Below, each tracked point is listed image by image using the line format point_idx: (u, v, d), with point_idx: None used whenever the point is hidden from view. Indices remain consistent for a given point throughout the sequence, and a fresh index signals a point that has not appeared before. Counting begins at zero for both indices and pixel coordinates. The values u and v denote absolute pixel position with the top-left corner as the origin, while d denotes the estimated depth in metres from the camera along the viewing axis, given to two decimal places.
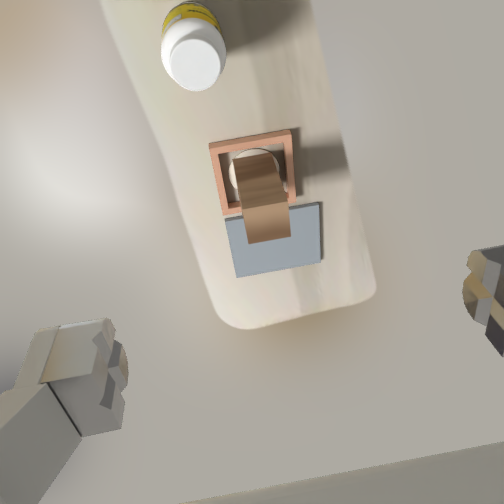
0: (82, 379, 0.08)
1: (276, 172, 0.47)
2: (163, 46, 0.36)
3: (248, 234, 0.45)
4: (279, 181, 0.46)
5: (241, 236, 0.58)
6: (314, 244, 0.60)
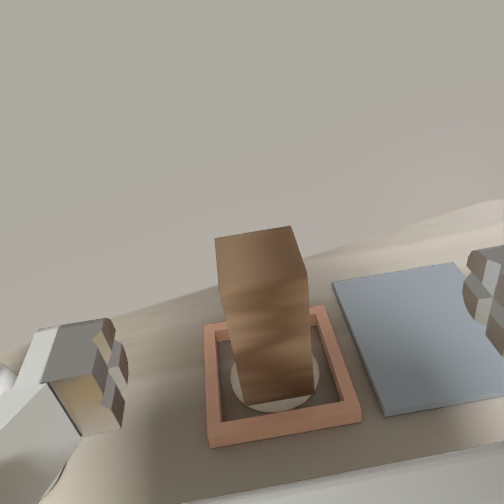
0: (82, 380, 0.08)
1: None
2: None
3: (281, 275, 0.23)
4: None
5: (420, 379, 0.28)
6: (414, 275, 0.36)
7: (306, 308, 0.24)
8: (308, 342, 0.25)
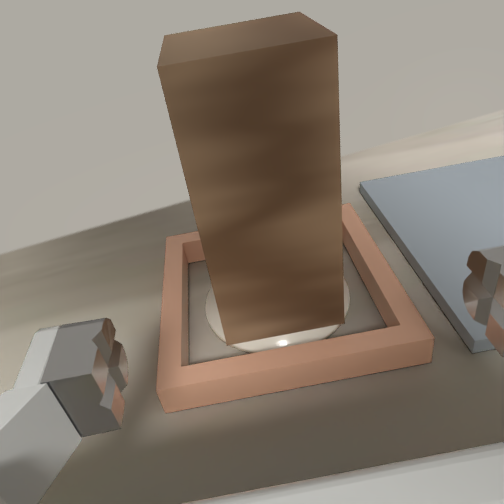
0: (82, 380, 0.08)
1: None
2: None
3: (284, 42, 0.11)
4: None
5: None
6: (481, 166, 0.24)
7: (334, 130, 0.12)
8: (336, 212, 0.14)
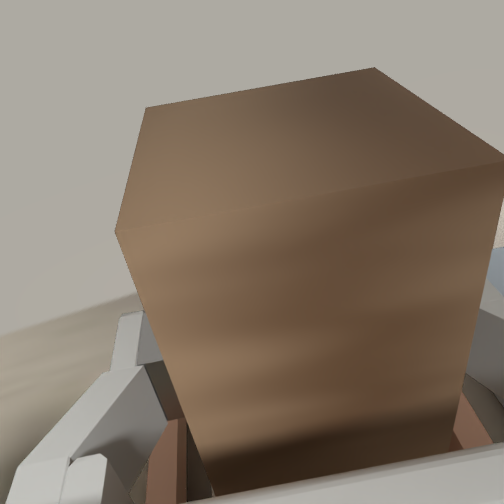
0: None
1: None
2: None
3: (392, 173, 0.05)
4: None
5: None
6: None
7: (467, 317, 0.06)
8: (444, 425, 0.08)
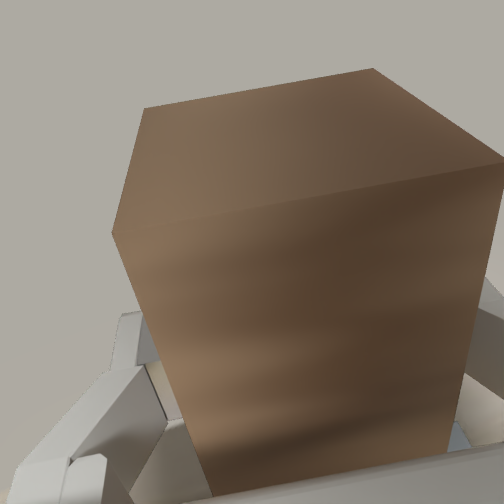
0: None
1: None
2: None
3: (390, 175, 0.05)
4: None
5: None
6: None
7: (465, 318, 0.06)
8: (443, 426, 0.08)
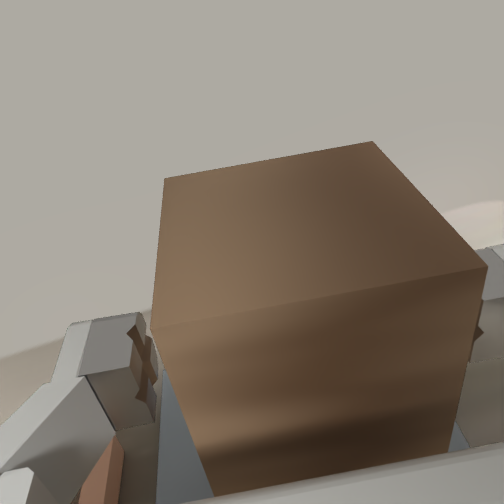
0: (119, 373, 0.08)
1: None
2: None
3: (387, 276, 0.06)
4: None
5: None
6: None
7: (453, 384, 0.07)
8: None
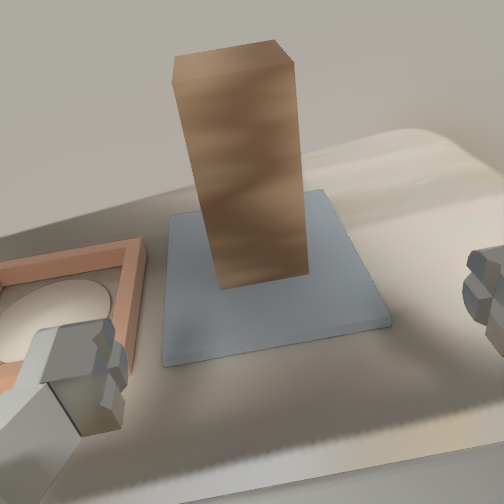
0: (82, 380, 0.08)
1: None
2: None
3: (258, 67, 0.16)
4: None
5: (224, 318, 0.20)
6: None
7: (294, 126, 0.18)
8: (299, 186, 0.19)
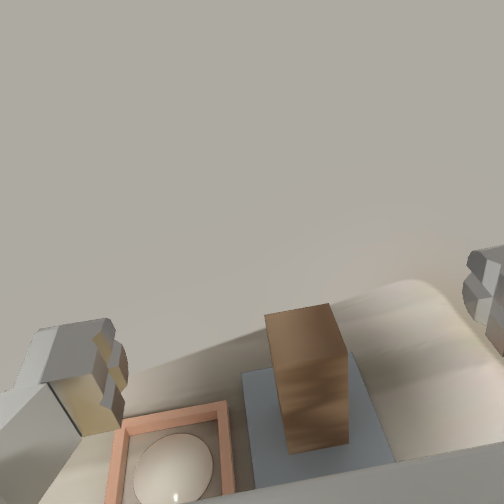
0: (82, 380, 0.08)
1: (273, 369, 0.34)
2: None
3: (326, 354, 0.27)
4: None
5: (295, 481, 0.31)
6: None
7: (345, 378, 0.28)
8: (346, 403, 0.30)
